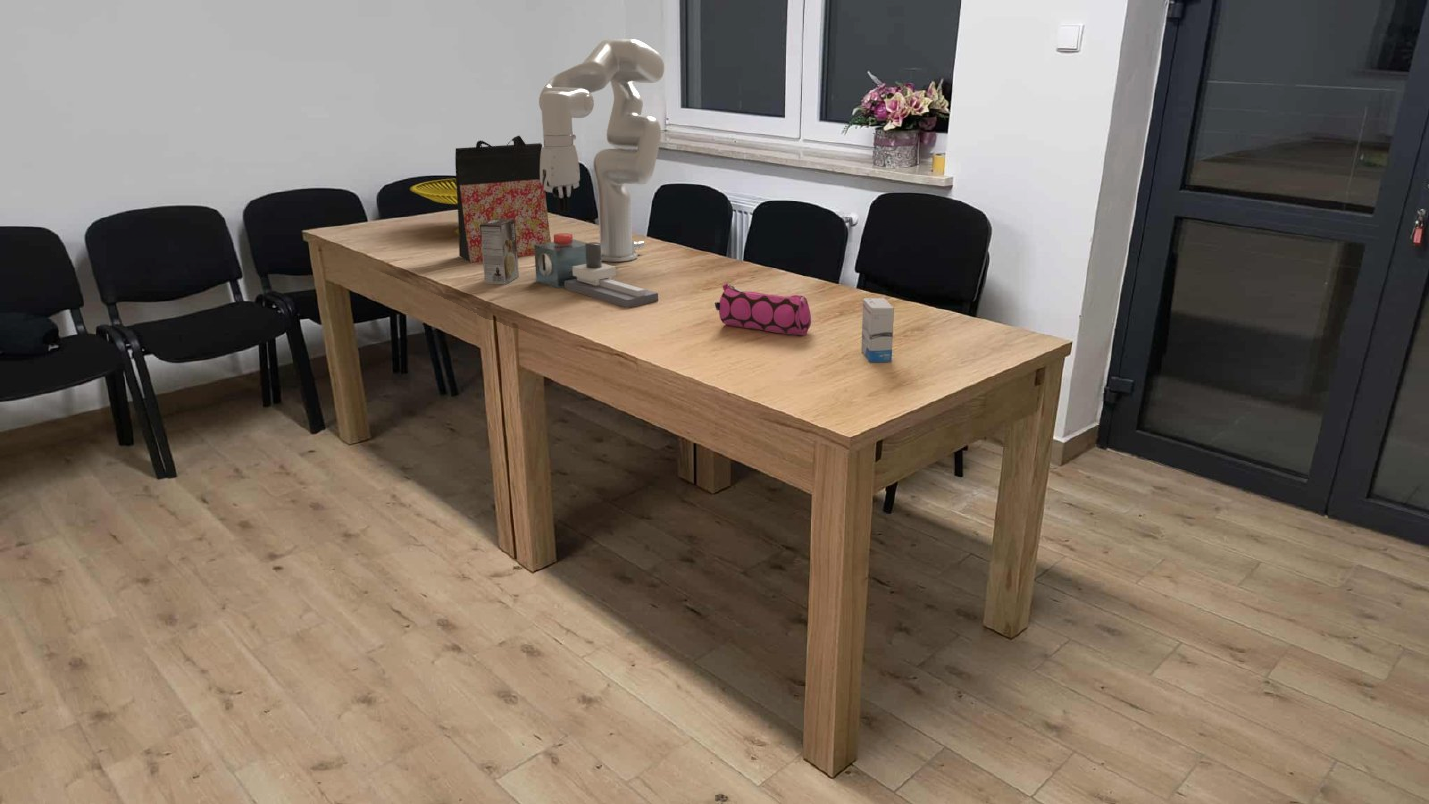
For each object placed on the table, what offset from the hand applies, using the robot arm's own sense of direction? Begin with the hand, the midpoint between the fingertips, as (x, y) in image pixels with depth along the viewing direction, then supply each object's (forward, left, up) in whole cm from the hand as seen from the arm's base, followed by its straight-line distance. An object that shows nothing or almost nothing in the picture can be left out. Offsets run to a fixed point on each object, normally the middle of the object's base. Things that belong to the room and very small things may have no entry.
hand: (563, 211), depth 260 cm
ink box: (-8, +98, -19) cm, 100 cm away
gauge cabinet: (+1, 0, -19) cm, 19 cm away
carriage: (+1, +13, -16) cm, 21 cm away
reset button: (+1, 0, -8) cm, 8 cm away
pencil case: (-6, +68, -19) cm, 71 cm away
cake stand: (-18, -75, -19) cm, 80 cm away
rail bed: (+1, +20, -19) cm, 27 cm away
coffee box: (+13, -12, -19) cm, 26 cm away
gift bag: (-7, -37, -19) cm, 42 cm away
